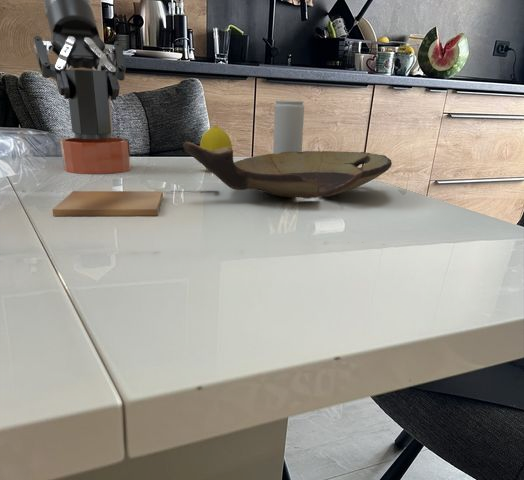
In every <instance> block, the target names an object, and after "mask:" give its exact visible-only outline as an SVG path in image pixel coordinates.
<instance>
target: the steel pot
mask: <svg viewBox="0 0 524 480" xmlns="http://www.w3.org/2000/svg"><path fill="white" fill-rule="evenodd" d="M65 73H66V77H67V80H68V84H69V89H70V99H68V107H69V113H70V115H69V116H70V124H71V133H72V134H74V138H77V139H92V140H97V139H111V138H112V137H113V133H114V126H113V115H112V114H113V113H112V112H113V111H112V102H111V101H112V100H111V97H110V89H109V77H108V71H100V70H93V69H65Z"/></svg>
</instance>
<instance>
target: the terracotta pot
mask: <svg viewBox="0 0 524 480" xmlns="http://www.w3.org/2000/svg"><path fill="white" fill-rule="evenodd" d="M59 142H60V143H59V144H60V151H61V158H62V164H63V170H64V172H66V173H70V174H77V175H111V174H121V173H126V172H127V173H128V172H130V171H131V170H132V165H131V164H132V163H131V161H132V160H131V149H130V140H129V139H128V138H123V137H114V136H112V138H111V139H97V140H92V139H77V138H75V137H66V138H62V139H60V141H59Z"/></svg>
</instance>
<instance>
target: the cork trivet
mask: <svg viewBox="0 0 524 480" xmlns="http://www.w3.org/2000/svg"><path fill="white" fill-rule="evenodd" d="M163 197H164V192H163V190H149V191H148V190H119V191H118V190H73V191H72V192H70V194H68V195H67V196H66V197H65V198H63V200H61V201H60V202H59V203H58V204H57V205H55V206H54V207H53V208H52V215H53V217H157V216H158V214H159V211H160V208H161V206H162V205H161V204H162V201H163V199H164V198H163Z"/></svg>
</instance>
